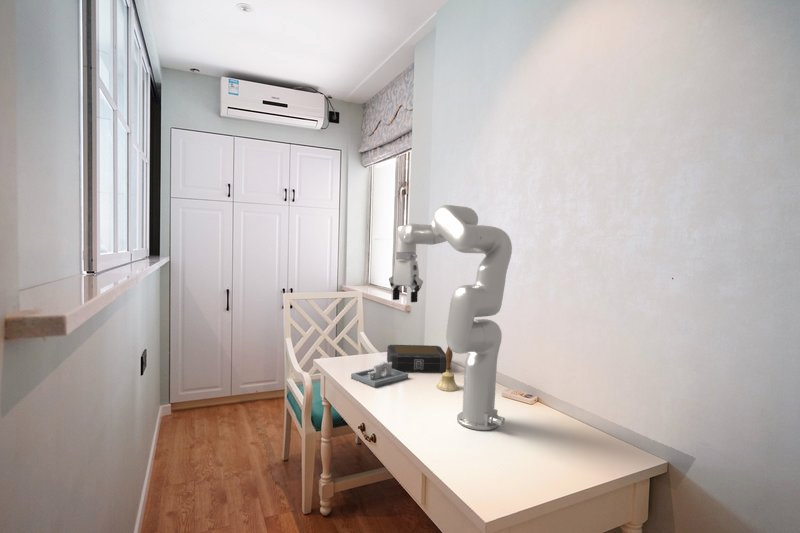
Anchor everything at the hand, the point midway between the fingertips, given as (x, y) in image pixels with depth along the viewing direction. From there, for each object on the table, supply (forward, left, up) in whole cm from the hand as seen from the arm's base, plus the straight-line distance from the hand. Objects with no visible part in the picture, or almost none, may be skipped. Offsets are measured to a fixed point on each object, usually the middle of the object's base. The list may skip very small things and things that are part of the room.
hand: (404, 300), depth 163 cm
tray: (+8, +4, -32) cm, 33 cm away
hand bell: (-16, -9, -32) cm, 37 cm away
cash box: (+11, -20, -32) cm, 40 cm away
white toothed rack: (+8, +4, -31) cm, 33 cm away
